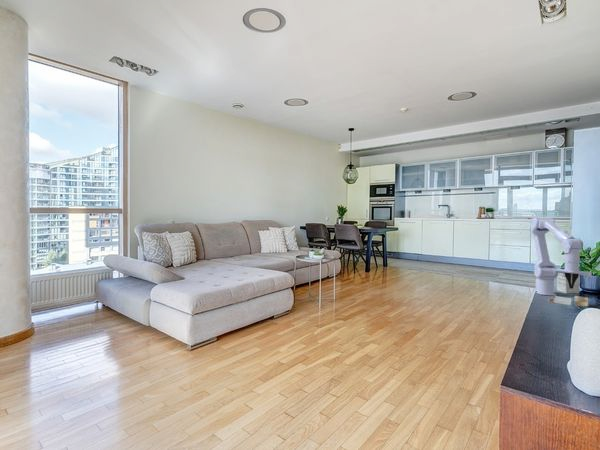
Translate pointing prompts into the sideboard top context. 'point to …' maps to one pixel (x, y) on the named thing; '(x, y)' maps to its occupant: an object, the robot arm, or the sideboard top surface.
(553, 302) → the trap plate
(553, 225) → the robot arm
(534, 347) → the sideboard top surface
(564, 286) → the supplement box
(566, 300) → the acrylic channel
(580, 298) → the maple block
